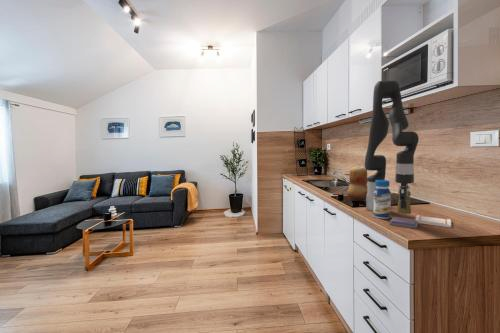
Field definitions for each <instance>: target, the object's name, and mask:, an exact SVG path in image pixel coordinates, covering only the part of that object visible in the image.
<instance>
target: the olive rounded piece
mask: <svg viewBox="0 0 500 333" xmlns="http://www.w3.org/2000/svg"><path fill="white" fill-rule="evenodd" d="M399 193H400V191H399V190H398V192H397V196H398V200H397V201H398V203H397V208H396V213H398V214H401V215H402V214H404V215H410V214H411V215H412V208H411V200H410V197H411V195H412V193H411V191H410V190H409V191H408V197H407V201H406V209H404V208H402V209H401V201H400V195H399ZM406 194H407V192H406ZM402 198H405V197H404V196H402Z"/></svg>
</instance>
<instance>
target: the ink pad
mask: <svg viewBox="0 0 500 333" xmlns="http://www.w3.org/2000/svg"><path fill="white" fill-rule="evenodd" d="M388 224H389V226H395V227H402V228H406V229H407V228H409V229H413V230H414V229H416V230H417V228H418V225H419V223H418V221H416V219H415V218H407V217H400V216H393V217H391V218H390V221H389V222H388Z"/></svg>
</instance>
